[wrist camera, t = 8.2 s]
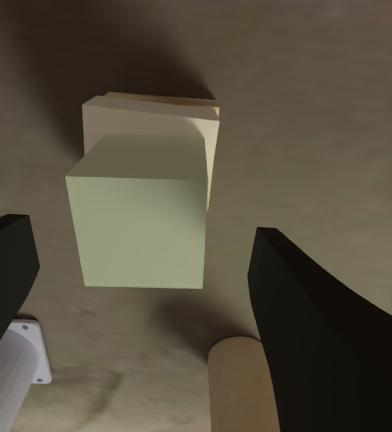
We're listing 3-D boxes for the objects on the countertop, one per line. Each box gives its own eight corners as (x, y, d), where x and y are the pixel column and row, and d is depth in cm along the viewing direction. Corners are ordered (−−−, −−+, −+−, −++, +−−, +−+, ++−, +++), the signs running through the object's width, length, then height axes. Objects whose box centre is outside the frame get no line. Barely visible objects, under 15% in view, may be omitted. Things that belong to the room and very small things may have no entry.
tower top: (99, 201, 19) (88, 223, 17) (96, 95, 16) (81, 104, 14) (200, 211, 19) (201, 234, 17) (215, 109, 16) (219, 121, 14)
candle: (247, 326, 27) (274, 463, 18) (278, 359, 29) (316, 495, 21) (195, 352, 29) (197, 489, 20) (228, 381, 31) (244, 517, 22)
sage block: (114, 220, 17) (85, 285, 12) (104, 134, 14) (65, 176, 10) (200, 222, 17) (202, 288, 12) (204, 137, 14) (208, 180, 10)
